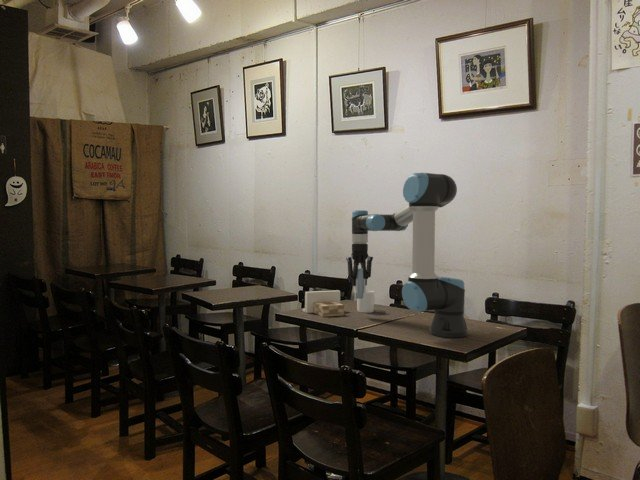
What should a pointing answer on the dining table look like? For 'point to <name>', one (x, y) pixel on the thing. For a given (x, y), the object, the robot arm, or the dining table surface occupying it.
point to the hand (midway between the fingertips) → (359, 292)
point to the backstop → (320, 298)
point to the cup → (366, 302)
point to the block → (328, 308)
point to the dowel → (360, 283)
